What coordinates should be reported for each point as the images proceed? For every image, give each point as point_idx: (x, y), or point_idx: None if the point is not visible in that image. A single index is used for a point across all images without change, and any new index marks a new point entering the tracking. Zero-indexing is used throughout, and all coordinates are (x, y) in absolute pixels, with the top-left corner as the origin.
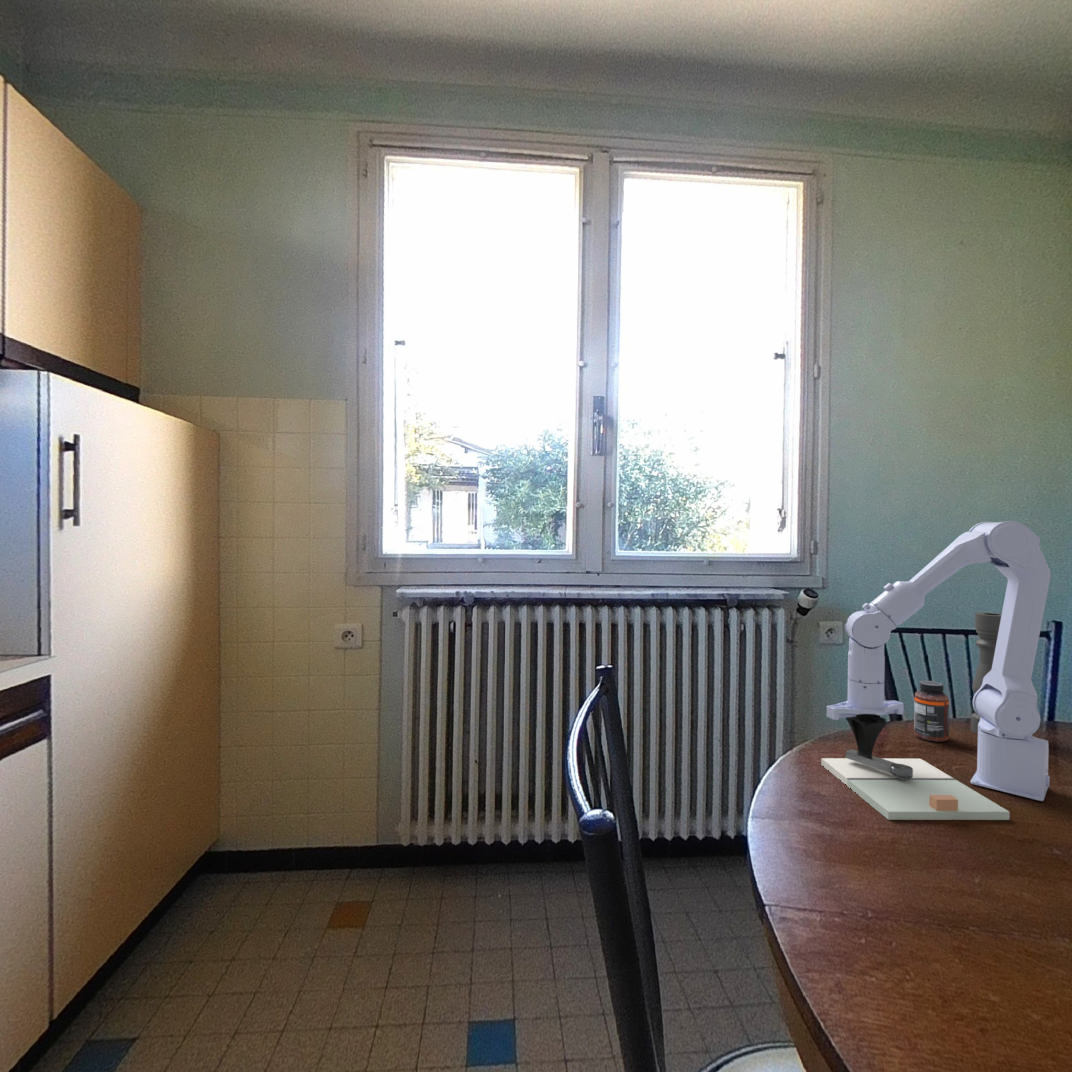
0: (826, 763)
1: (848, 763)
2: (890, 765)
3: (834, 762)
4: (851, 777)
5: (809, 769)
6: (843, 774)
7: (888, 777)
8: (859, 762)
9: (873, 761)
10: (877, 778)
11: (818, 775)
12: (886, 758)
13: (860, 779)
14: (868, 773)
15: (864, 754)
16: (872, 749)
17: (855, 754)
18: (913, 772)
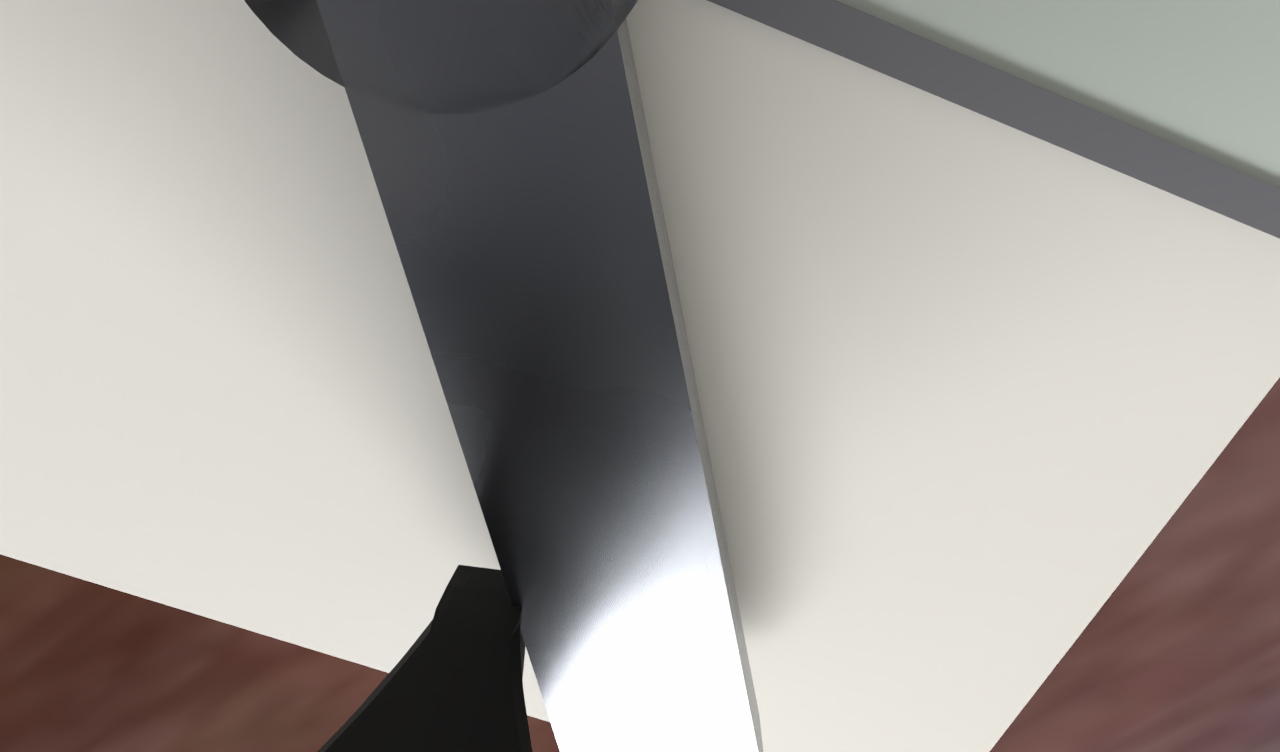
0: (989, 732)
1: (752, 631)
2: (602, 48)
3: (903, 710)
4: (1247, 274)
5: (1157, 732)
6: (1232, 400)
7: (654, 34)
8: (726, 544)
9: (683, 384)
10: (916, 56)
11: (1248, 593)
12: (58, 570)
13: (1205, 157)
14: (822, 288)
15: (590, 628)
16: (425, 650)
17: (743, 677)
18: (9, 34)
